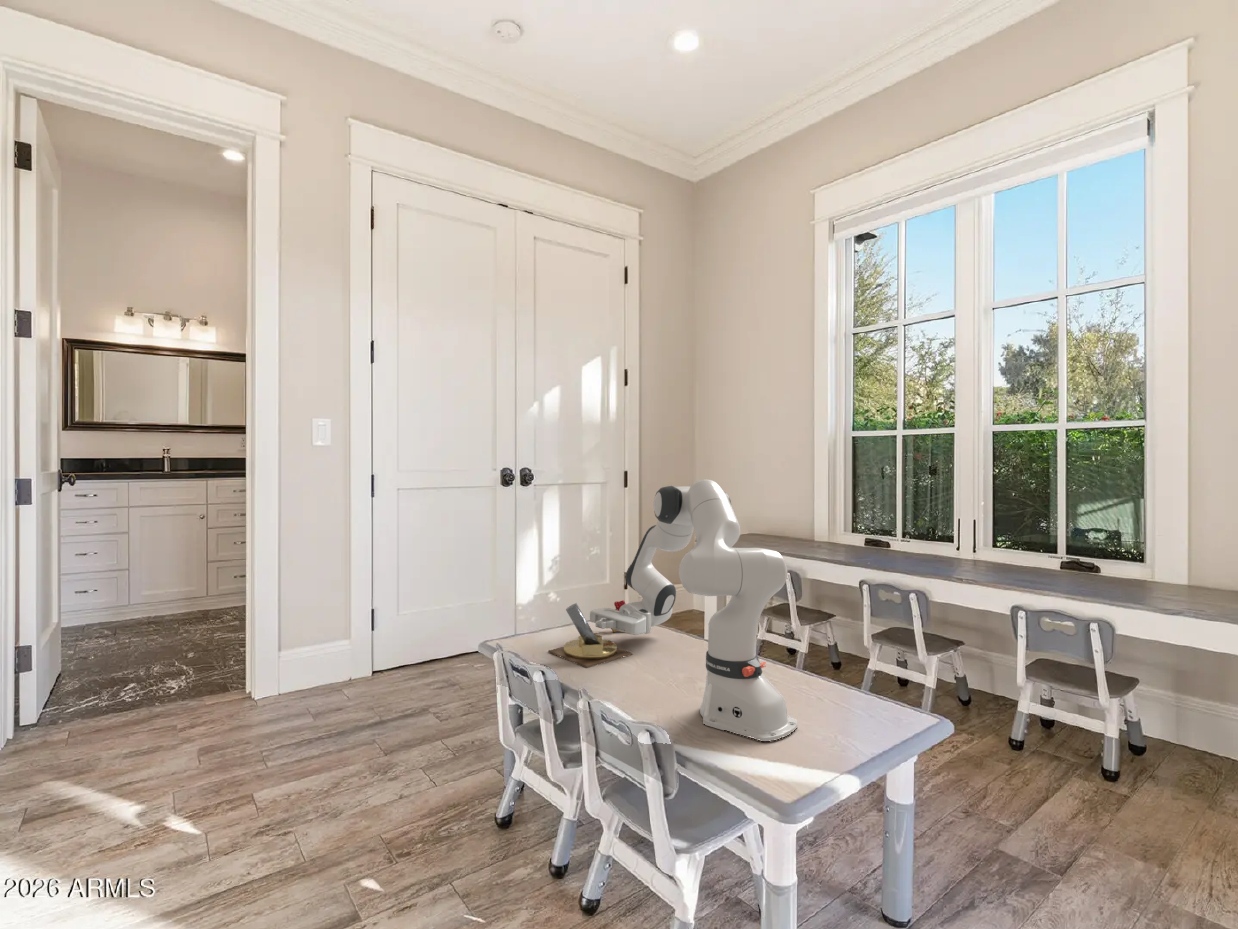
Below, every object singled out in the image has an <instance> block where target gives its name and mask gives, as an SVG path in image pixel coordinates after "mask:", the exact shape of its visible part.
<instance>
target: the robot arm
mask: <svg viewBox="0 0 1238 929" xmlns="http://www.w3.org/2000/svg"><path fill="white" fill-rule="evenodd" d="M653 512H654V516H655V517H656V519H657V523H656V524H655V525H652V526H650V527H649V528H648V529H647V530H646V532H645V534H644V535H643V538H642V540H641V542H640V544H639V545H638V546H639V547H638V549H637V551H636V554H635V556H634V558H633V560H632V562H631V564H629V566H628V568H627V570H626V573H625V581H626V584H627V586H629V587H630V588H631V589H633V591H635V592H636V593H637V594H638V595H640V596H641V598H642V599H641V600H640V601H634V602H629V603H625V604H624V605H622V606H621V607H620V609H619V611H618V610H615V608H609V607H604V608H603V607H602V608H597V609H595V608H594V609H591V610H590V612H589V621H590V622H591V623H594V624H595V627H596V628H598V629H601V630H605V629H610V628H612V629H615V630H618V631H617V632H622V633H624V634H627V635H631V636H639V635H647V634H650V633H651V630H652V627H655V626H656V627H657V626H658V625H661V624H663V623H665V622H666V621H668V620H669V619H671V617H672V614H673V611H674V609H673V606H674V604H675V602H676V597H677V591H676V590H677V589H676V586H675V585H674V584H673V583H672V582H671V581H670V580H669V579H668V578H667V577H665V576H664V575H663V574H662V573H660V571H658V570H657V568H656V567H655V566H654V565H653V563H652V560H653V558H654V555H655V554H656V553H657V549H658V550H660V551H663V552H669V553H675V552H679V551H682V550H683V549H685V548H686V547H687V546H688V545H689V543H691V540H692V536H693V533H694V534H695V539H696V542H695V545H694V546H693V548H691V550H689V551H688V552H686V553H685V554H684V556H683V557H682V559H681V561H680V562H679V566H678V577H679V580H680V583H681V585H682V586H683V588H684V589H685V591H686V592H687V593H689V594H694V595H700V596H705V597H719V596H720V597H722V596H723V597H724V596H725V597H727V596H729V597H730V596H731V597H730V598H729V601H728V603H726V605H725V606H724V607H723V608H721V609H720V610H719V609H718V610H717V611H715V612H714V614H713V615H712V616H711V617H710V619H709V621H708V629H707V630H708V636H707V637H708V638H707V645H708V646H707V651H706V654H705V669H706V677H705V678H706V681H705V688H704V693H703V698H702V702H701V705H700V708H699V713H700V715H701V716H702V723H703V725H704V724H705V725H704V726H708V727H711V728H715V729H717V730H721V731H724V730H728V731H731V732H735V733H738V734H742V735H745V736H751V737H754V738H756V739H760V740H762V741H769V740H774V739H778V738H780V737H782V736H786V735H788V734H789V733H791V732H792V731H793V730H795V729H796V728H797V729H798V727H797V724H798V720H797V719H796V718H794V717H791V716H790V715H789V714H788V707H787V701H786V699H785V697H784V696H783V694H781V692H780V691H779V690H778V689H777V688H776V687H775V685H773V684H772V683H771V682H770V681H769V679H768V678H767V677H766V676H765V675H764V674H763V668H765V667H766V665H765V664H766V663H767V661H763V662H761V663H760V660H759V658H758V655H757V637H758V635H757V634H758V625H759V622H760V617H761V615H762V613H763V611H764V609H765V607H766V606H767V604H768V602H769V601H770V600H771V598H772V597H773V596H774V595H775V594H777V593H778V592H779V591H780V590H781V589H782V588H783V587H784V586H785V584H786V582H787V580H788V565H787V563H786V560H785V559H784V557H783V555H781V553H780V552H778V551H776V550H774V549H773V550H772V549H768V548H762V547H733V546H734V545H735V544H736V543H737V542H738V541H739V539H740V537H741V526H740V523H739V520H738V517H737V516H736V513H735V511H734V508H733V507H732V500H731V498H730V496H729V494H728V493H727V492H726V491H724V490H723V489H722V487H721V486H720V485H719V483H717V482H716V481H714V480H712V479H706V478H705V479H700V480H697V481H695V482H694V483H692V484H691V486H690V485H689V486H688V485H687V486H682V485H681V486H673V485H667V486H662V487H660V488H659V489H658V490H657V491H656V493H655V495H654V499H653ZM612 629H611V630H612ZM797 729H796V730H797ZM796 730H795V731H796ZM731 732H730V733H731Z"/></svg>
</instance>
